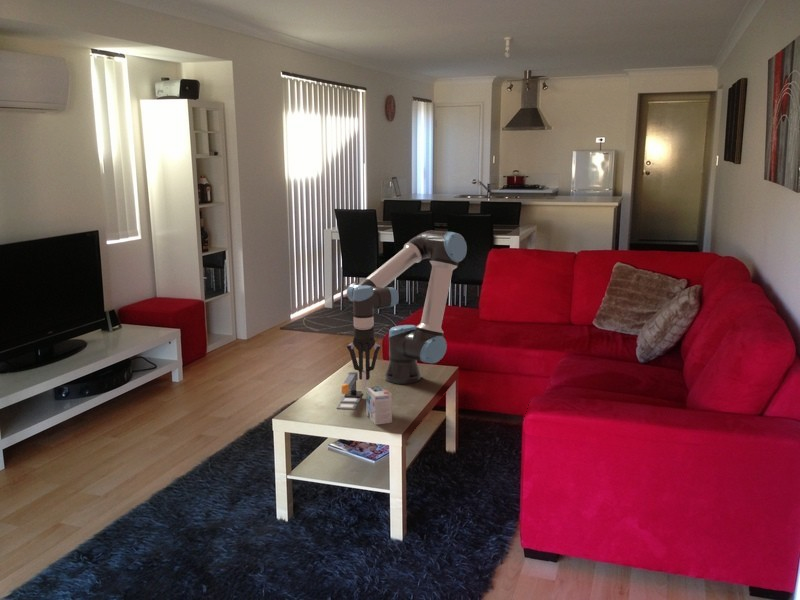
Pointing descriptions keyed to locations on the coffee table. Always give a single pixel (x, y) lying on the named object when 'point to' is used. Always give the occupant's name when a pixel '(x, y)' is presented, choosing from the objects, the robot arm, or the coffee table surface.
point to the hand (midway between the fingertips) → (364, 387)
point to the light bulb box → (379, 405)
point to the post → (353, 392)
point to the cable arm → (349, 382)
